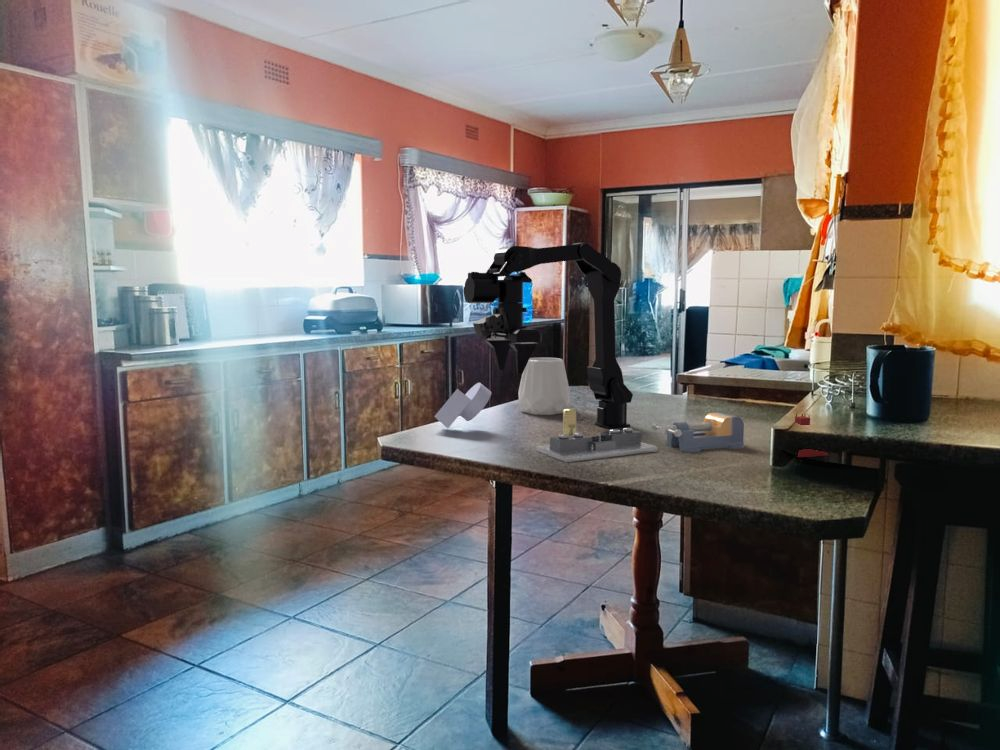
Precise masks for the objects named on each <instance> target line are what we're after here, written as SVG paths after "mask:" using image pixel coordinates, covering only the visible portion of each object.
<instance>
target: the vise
mask: <svg viewBox="0 0 1000 750" xmlns="http://www.w3.org/2000/svg"><path fill="white" fill-rule="evenodd" d="M650 428H651V429H652V431H655V430H660V432H661V434H662V435H666V434H667V440H666V446H668V447H671V448H672V447H679V448H678V449H679V451H681V452H687V453H700V452H702V450H715V449H730V450H743V449H745V443H744V433H745V431H744V430H745V424H744V421H743V419H742V418H740V417H738V416H734V415H732V414H726V413H723V412H710V413H709V412H708V414H706V415H705V417H704V419H703V421H700V422H698V423H688V422H687V421H679V422H676V421H675V422H673V423H672V425H668V424H667V425H662V426H661V425H659V424H658V423H657V422H653V423H651V427H650Z"/></svg>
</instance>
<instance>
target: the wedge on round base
mask: <svg viewBox="0 0 1000 750" xmlns="http://www.w3.org/2000/svg"><path fill="white" fill-rule="evenodd" d="M491 396H492V391H491V390H490V389H489V388H487V387H486V386H485V385H484V384H482V383H481V382H477V383H475V384H473V386H472V387H470V389H469V390H468V391H467V392H466V393H463V392H462V391H461V390H459V388H456V389H455V391H454V392H453V393H452V395H451V396H449V398H448V399H447V400H446V402H445V403H444V404H443V405H442V407H440V409H439V410H438V411H437V412H436V413H435V415H434V418H435V419H436V420H438V421H439V422H440V423H441V424H442V425H443V426H444V427H445V428H447V429H449V428H450V427H451V426H452V424H453V423H454V422H455V421H456V419H457V418H458V417H459V416H460V417H461V418H463V420H465V421H466V422H470V421H471V420H474V418H475V417H477V415H478V414H479V413H480V412H481V411H482V410H483V409H484V408H485V406H486V404H488V402H489V400H490V398H491Z"/></svg>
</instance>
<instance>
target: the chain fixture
mask: <svg viewBox="0 0 1000 750" xmlns="http://www.w3.org/2000/svg"><path fill="white" fill-rule="evenodd" d="M657 449H658V448H657V446H655V445H652V444H649V443H645V442H642V431H639V430H635V429H633V428H632V427H622V429H618V428H609V429H608V430H607V431H600V435H598V434H597V435H596V434H595V435H585V434H584V433H583V432H576V433H573V435H567V434H563V433H561V434H558V435H557V436H549V444H543V445H535V451H536V452H538V453H541V454H543V455H545V456H548V457H551V458H554V459H557V460H559V461H562V462H564V463H572V462H581V461H582V462H583V461H587V460H588V461H589V460H599V459H606V458H607V459H608V458H613V457H614V458H615V457H622V456H630V455H638V454H647V453H655V452H657V451H658V450H657Z"/></svg>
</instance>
